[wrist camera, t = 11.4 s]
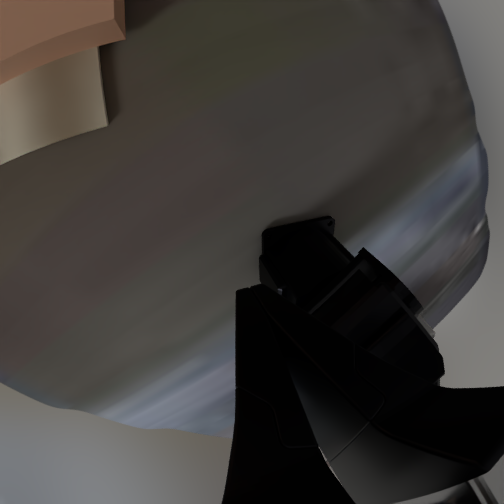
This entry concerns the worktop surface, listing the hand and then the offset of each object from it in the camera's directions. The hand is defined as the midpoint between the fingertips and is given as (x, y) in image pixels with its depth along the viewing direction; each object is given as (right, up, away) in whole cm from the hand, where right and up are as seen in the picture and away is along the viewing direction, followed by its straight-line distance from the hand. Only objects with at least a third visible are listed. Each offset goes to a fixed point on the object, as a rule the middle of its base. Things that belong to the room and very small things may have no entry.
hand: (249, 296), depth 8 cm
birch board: (-17, +15, -2) cm, 23 cm away
